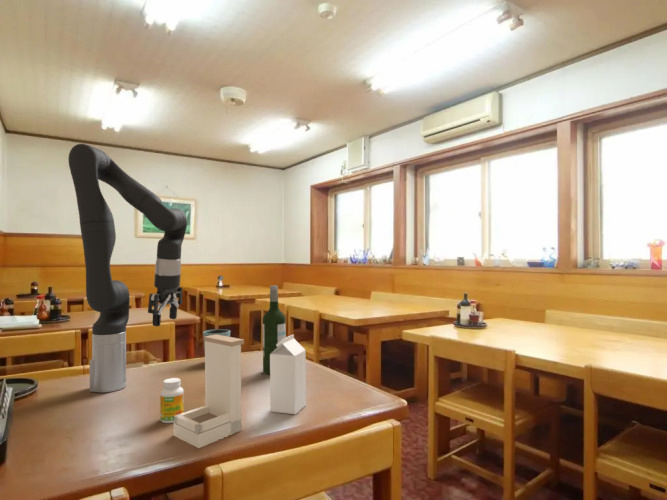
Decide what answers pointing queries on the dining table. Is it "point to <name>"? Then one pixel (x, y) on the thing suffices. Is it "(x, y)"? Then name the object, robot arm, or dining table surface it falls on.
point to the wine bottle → (272, 328)
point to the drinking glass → (216, 331)
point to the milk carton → (287, 377)
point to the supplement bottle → (171, 400)
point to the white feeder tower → (215, 395)
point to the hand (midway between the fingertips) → (164, 322)
